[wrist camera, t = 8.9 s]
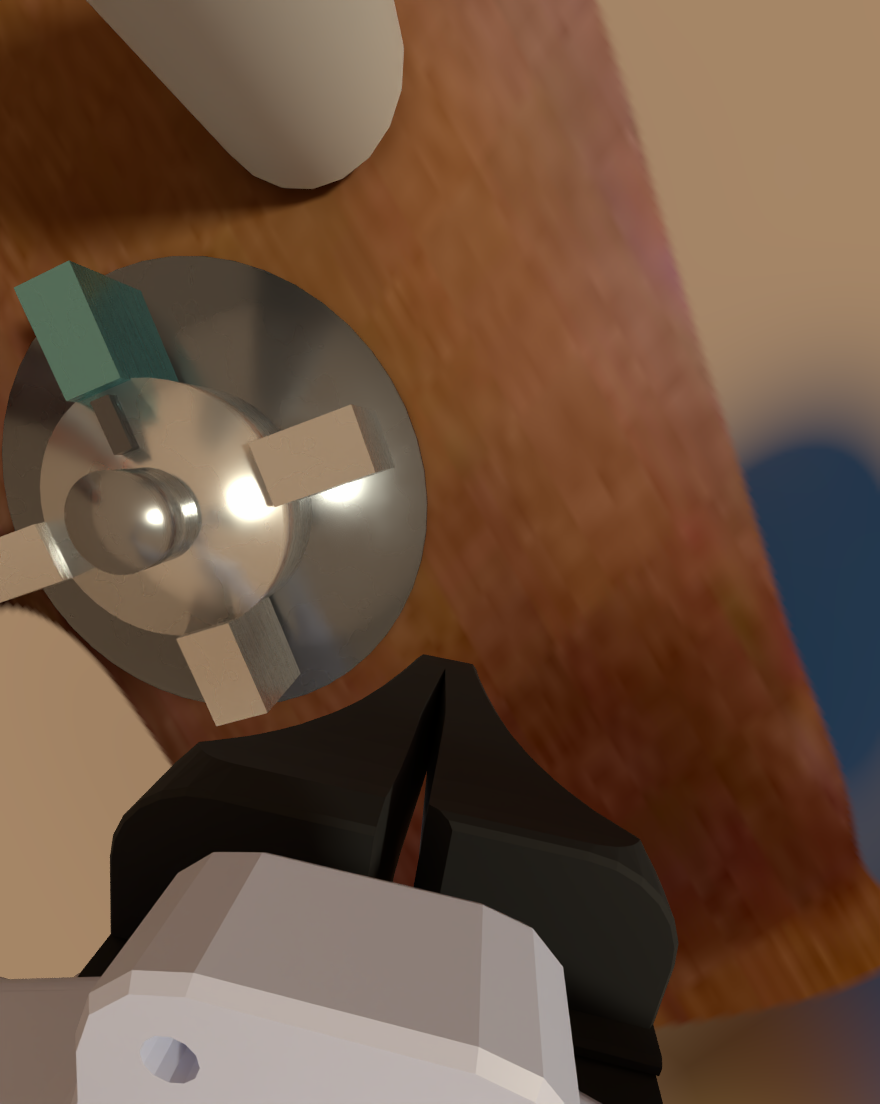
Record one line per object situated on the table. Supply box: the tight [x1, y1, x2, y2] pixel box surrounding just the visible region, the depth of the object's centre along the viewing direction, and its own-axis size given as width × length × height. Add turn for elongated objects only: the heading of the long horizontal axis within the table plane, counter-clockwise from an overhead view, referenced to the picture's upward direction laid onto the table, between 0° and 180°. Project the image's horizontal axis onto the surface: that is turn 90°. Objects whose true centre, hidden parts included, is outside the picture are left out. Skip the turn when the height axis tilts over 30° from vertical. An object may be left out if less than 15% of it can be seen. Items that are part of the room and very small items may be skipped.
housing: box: [2, 256, 427, 702], centre depth 19 cm, size 20×20×6 cm
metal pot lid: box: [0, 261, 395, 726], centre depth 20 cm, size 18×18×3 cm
